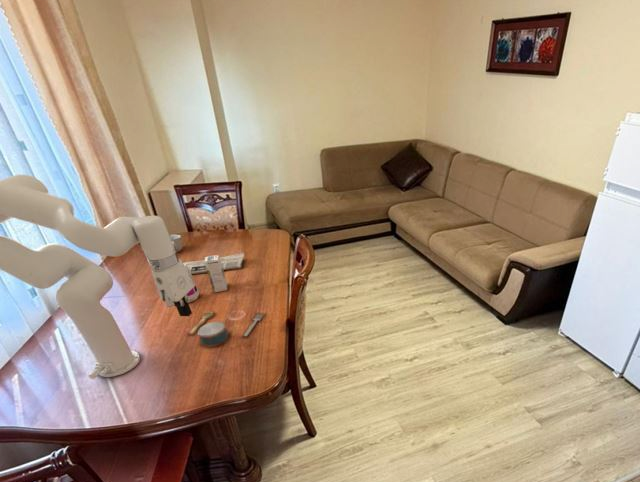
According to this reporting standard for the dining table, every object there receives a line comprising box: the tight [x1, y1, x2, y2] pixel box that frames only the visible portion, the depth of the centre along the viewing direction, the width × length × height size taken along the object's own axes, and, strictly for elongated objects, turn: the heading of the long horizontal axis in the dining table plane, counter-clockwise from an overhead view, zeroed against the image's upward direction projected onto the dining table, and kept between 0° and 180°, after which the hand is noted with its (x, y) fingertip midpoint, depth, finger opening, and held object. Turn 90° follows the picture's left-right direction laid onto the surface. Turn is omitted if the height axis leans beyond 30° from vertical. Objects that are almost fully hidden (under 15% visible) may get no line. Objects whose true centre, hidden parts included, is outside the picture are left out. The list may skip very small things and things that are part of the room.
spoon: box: [188, 310, 215, 336], centre depth 146 cm, size 14×4×1 cm, turn 172°
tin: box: [197, 321, 229, 348], centre depth 136 cm, size 9×9×5 cm
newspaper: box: [184, 252, 245, 275], centre depth 187 cm, size 35×12×4 cm, turn 101°
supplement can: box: [182, 262, 200, 304], centre depth 159 cm, size 8×8×15 cm
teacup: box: [169, 234, 184, 254], centre depth 204 cm, size 14×11×8 cm
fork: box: [243, 313, 265, 338], centre depth 143 cm, size 14×3×1 cm, turn 172°
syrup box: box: [204, 254, 228, 293], centre depth 165 cm, size 6×6×14 cm
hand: (186, 314), depth 120 cm, fingers closed
